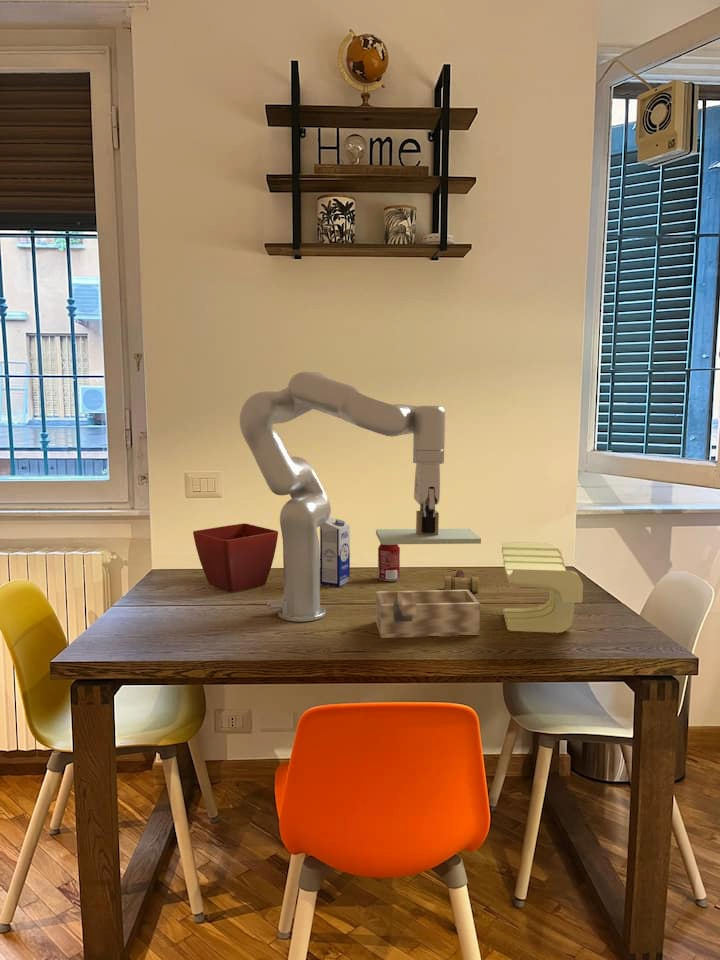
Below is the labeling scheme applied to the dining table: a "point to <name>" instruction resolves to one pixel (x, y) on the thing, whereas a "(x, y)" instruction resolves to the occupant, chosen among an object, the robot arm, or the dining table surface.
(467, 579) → the gavel
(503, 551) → the slatted curved stool
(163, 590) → the dining table surface
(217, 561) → the plant pot
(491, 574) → the dining table surface
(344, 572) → the milk carton
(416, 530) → the lid
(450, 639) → the dining table surface
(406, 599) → the bar
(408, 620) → the toolbox
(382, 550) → the soda can
